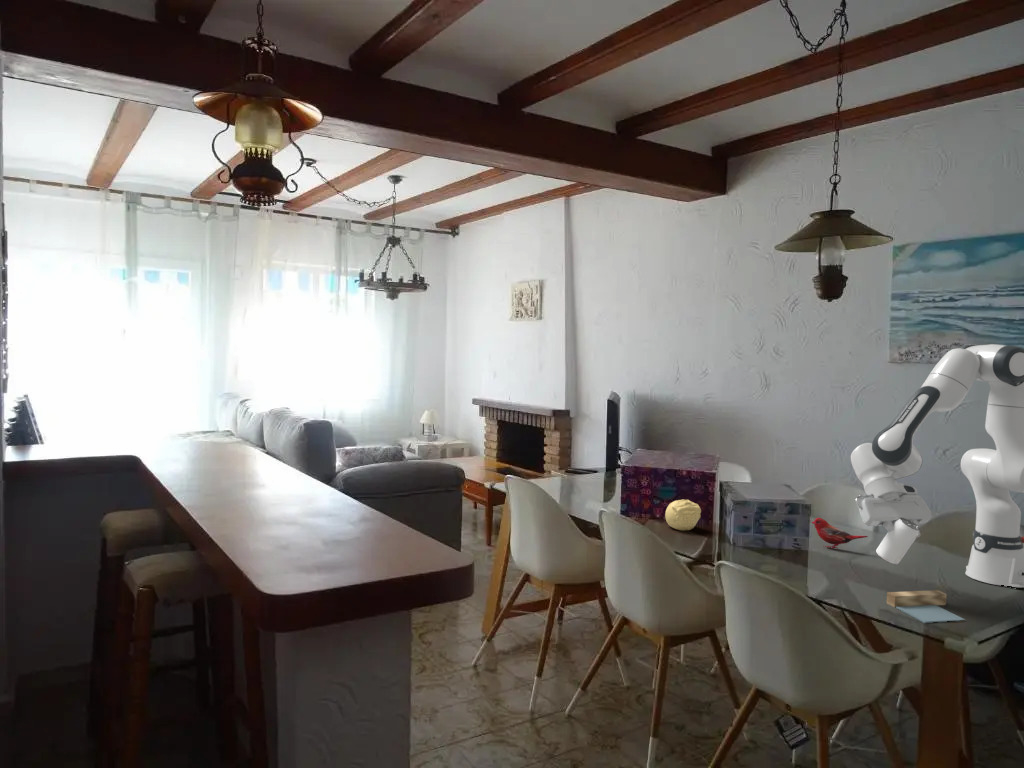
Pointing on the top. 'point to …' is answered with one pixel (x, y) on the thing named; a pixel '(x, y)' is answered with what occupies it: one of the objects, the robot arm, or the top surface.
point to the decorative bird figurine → (832, 533)
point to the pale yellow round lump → (682, 514)
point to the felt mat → (929, 613)
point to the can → (898, 541)
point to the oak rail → (916, 598)
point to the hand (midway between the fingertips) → (907, 537)
